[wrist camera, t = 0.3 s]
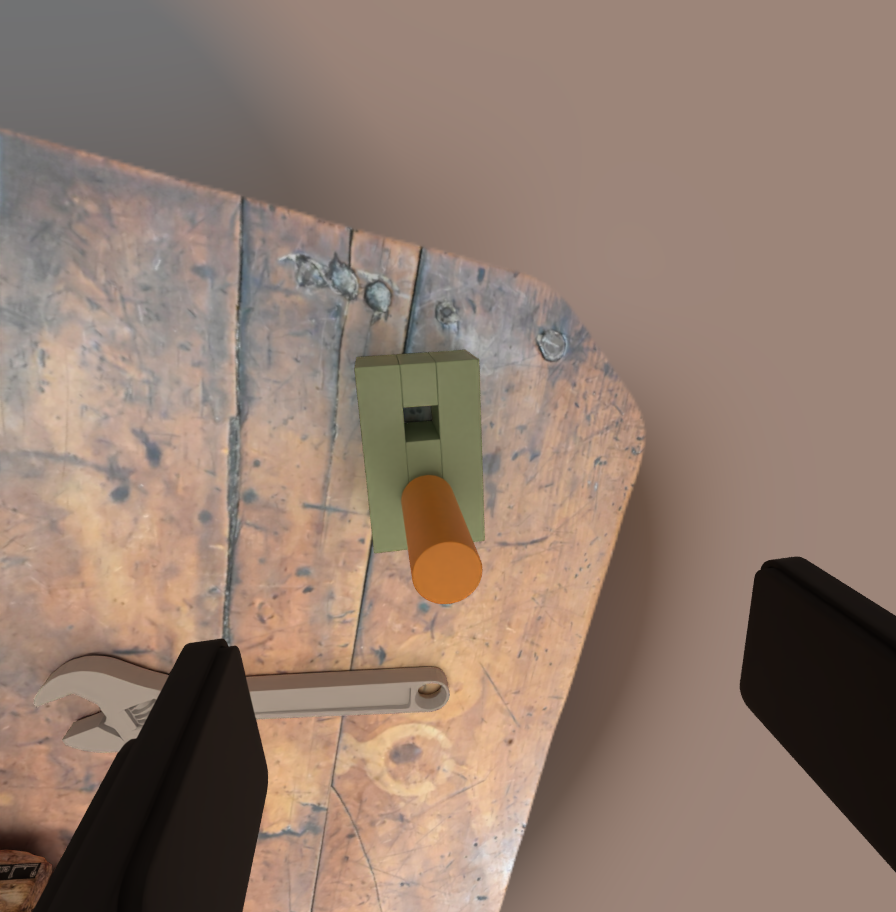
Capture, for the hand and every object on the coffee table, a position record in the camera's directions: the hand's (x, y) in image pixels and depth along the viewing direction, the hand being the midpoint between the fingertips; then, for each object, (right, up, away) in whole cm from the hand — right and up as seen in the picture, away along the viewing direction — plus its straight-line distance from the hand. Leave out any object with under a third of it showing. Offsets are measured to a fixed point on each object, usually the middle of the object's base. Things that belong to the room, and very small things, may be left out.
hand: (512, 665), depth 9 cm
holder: (-3, +5, +22) cm, 23 cm away
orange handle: (-3, +3, +22) cm, 23 cm away
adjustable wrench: (-14, -12, +26) cm, 32 cm away
